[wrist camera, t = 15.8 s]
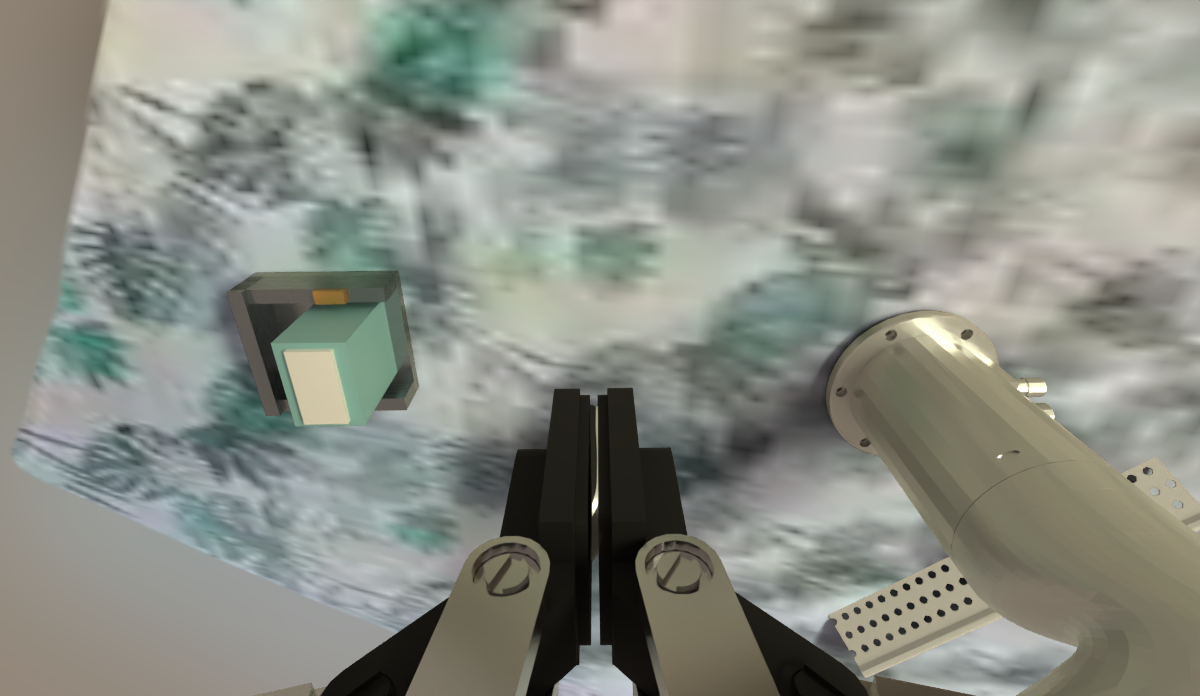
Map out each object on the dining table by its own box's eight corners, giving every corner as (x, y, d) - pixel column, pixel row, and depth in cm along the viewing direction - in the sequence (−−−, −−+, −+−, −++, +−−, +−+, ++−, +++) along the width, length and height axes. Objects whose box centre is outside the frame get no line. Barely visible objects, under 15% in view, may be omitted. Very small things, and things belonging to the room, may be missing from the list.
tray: (398, 270, 41) (380, 290, 38) (418, 386, 46) (404, 413, 42) (256, 272, 41) (226, 292, 38) (290, 388, 46) (265, 415, 42)
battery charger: (584, 477, 50) (582, 587, 40) (545, 458, 49) (532, 566, 39) (630, 419, 47) (639, 521, 37) (589, 398, 46) (588, 497, 36)
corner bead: (864, 652, 62) (885, 699, 57) (823, 607, 58) (842, 653, 54) (1176, 510, 53) (1229, 552, 49) (1147, 448, 50) (1202, 488, 45)
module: (383, 298, 42) (343, 345, 35) (397, 372, 44) (362, 429, 38) (319, 298, 42) (267, 346, 35) (337, 372, 44) (292, 429, 38)
